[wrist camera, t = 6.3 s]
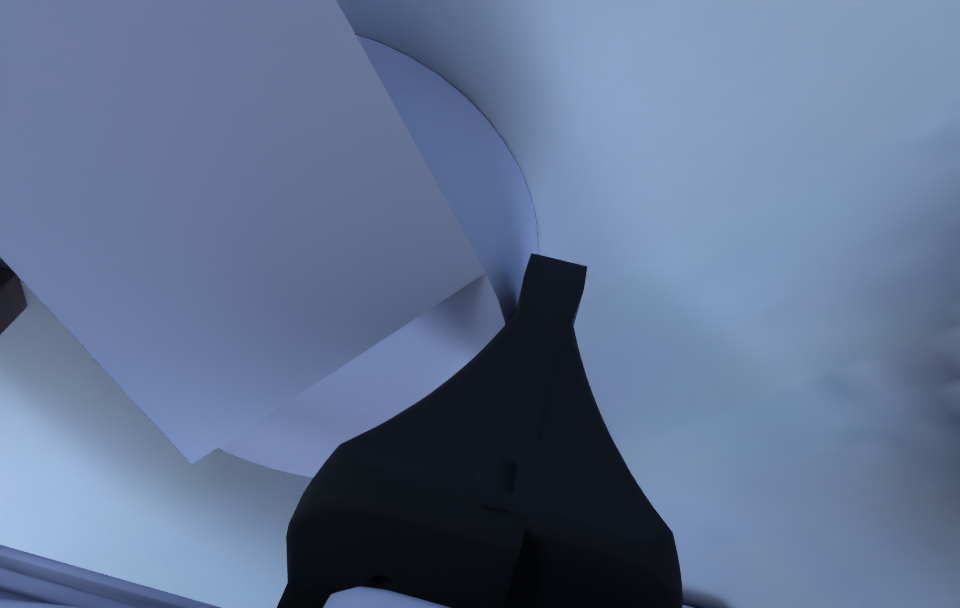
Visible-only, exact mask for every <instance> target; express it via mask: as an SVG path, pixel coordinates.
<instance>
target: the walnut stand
mask: <svg viewBox="0 0 960 608" xmlns="http://www.w3.org/2000/svg"><path fill="white" fill-rule="evenodd" d="M26 307H27V304H26V300H25V297H24V294H23V291H22V288H21V284H20V281H19V278H18V276H17V274H16V273H15V272H11V271H7V270H3V269H0V335H1V333H2V332H3V331H4V330H5V329H6V328H7V327H8V326H9V325H10V324H11V323H12V322H13V321H14V320H15V319H16V318H17V317H18V316H19V315H20V314H21V313H22V312H23V311H24V310H25V308H26Z"/></svg>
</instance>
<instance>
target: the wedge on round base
mask: <svg viewBox="0 0 960 608" xmlns="http://www.w3.org/2000/svg"><path fill="white" fill-rule="evenodd" d="M531 253H533V254H537V253H538V236H537V222H536V217H535V213H534V209H533V204H532V200H531V196H530V193H529V191H528V188H527V186H526V183H525V180H524V178H523V175H522V173H521V170H520V168H519V167H518V165H517V163H516V161H515V160H514V158H513V156H512V154H511V152H510V151H509V149H508V147H507V145H506V144H505V142H504V141H503V140H502V138H501V137H500V136H499V134H498V133H497V132H496V130H495V129H494V128H493V126H492V125H491V124H490V122H489V121H488V120H487V119H486V118H485V116H484V115H483V114H482V113H481V112H480V111H479V110H478V109H477V108H476V107H475V106H474V105H473V104H472V103H471V102H470V101H469V100H468V99H467V98H466V97H465V96H464V95H463V94H462V93H460V92H459V91H458V90H457V89H455V88H454V87H453V86H452V85H450V84H449V83H448V82H447V81H445V80H444V79H443V78H442V77H440V76H439V75H438V74H436V73H435V72H433V71H432V70H430V69H428V68H427V67H425V66H424V65H422V64H420V63H419V62H417V61H416V60H414V59H412V58H411V57H409V56H407V55H405V54H403V53H401V52H398V51H396V50H394V49H392V48H390V47H388V46H386V45H383V44H381V43H379V42H376V41H373V40H370V39H367V38H364V37H361V36H358V35H356V34H355V33H354V31H353V29H352V27H351V25H350V23H349V22H348V20H347V18H346V16H345V14H344V12H343V11H342V9H341V7H340V5H339V3H338V2H337V0H0V257H1V258H2V259H3V260H4V261H5V263H6V264H7V265H8V266H9V267H10V268H11V269H12V270H13V271H14V272H15V273H16V274H17V276H18V277H19V278H20V279H21V280H22V281H23V282H24V283H25V284H26V285H27V286H28V287H29V289H30V290H31V291H32V292H33V293H34V294H35V295H36V296H37V297H38V298H39V299H40V300H41V302H42V303H43V304H44V305H45V306H46V307H47V308H48V309H49V310H50V311H51V312H52V313H53V315H54V316H55V317H56V318H57V319H58V320H59V321H60V322H61V323H62V324H63V325H64V326H65V328H66V329H67V330H68V331H69V332H70V333H71V334H72V335H73V336H74V337H75V338H76V339H77V341H78V342H79V343H80V344H81V345H82V346H83V347H84V348H85V349H86V350H87V351H88V352H89V354H90V355H91V356H92V357H93V358H94V359H95V360H96V361H97V362H98V363H99V364H100V365H101V366H102V368H103V369H104V370H105V371H106V372H107V373H108V374H109V375H110V376H111V377H112V378H113V379H114V381H115V382H116V383H117V384H118V385H119V386H120V387H121V388H122V389H123V390H124V391H125V392H126V394H127V395H128V396H129V397H130V398H131V399H132V400H133V401H134V402H135V403H136V404H137V405H138V407H139V408H140V409H141V410H142V411H143V412H144V413H145V414H146V415H147V416H148V417H149V418H150V420H151V421H152V422H153V423H154V424H155V425H156V426H157V427H158V428H159V429H160V430H161V431H162V433H163V434H164V435H165V436H166V437H167V438H168V439H169V440H170V441H171V442H172V443H173V444H174V446H175V447H176V448H177V449H178V450H179V451H180V452H181V453H182V454H183V455H184V456H185V457H186V459H187V460H188V461H189V462H190V463H191V464H194V463H195V462H197V461H198V460H200V459H201V458H203V457H204V456H206V455H207V454H209V453H210V452H212V451H213V450H215V449H217V448H218V449H220V450H222V451H224V452H227V453H229V454H232V455H234V456H237V457H239V458H241V459H244V460H246V461H249V462H252V463H255V464H258V465H261V466H264V467H267V468H270V469H274V470H278V471H282V472H286V473H290V474H294V475H298V476H304V477H311V478H314V476H315V475H316V473H317V472H318V471H319V469H320V468H321V467H322V465H323V464H324V463H325V461H326V460H327V459H328V458H329V457H330V455H331V454H332V453H333V452H334V451H335V449H336V448H337V447H338V446H339V445H340V444H341V443H343V442H346V441H348V440H350V439H352V438H354V437H356V436H358V435H360V434H362V433H364V432H366V431H368V430H370V429H372V428H374V427H376V426H378V425H380V424H382V423H384V422H386V421H387V420H389V419H391V418H392V417H394V416H396V415H397V414H399V413H400V412H402V411H404V410H405V409H407V408H409V407H410V406H412V405H413V404H415V403H417V402H418V401H420V400H421V399H423V398H424V397H425V396H427V395H428V394H430V393H431V392H433V391H434V390H435V389H436V388H438V387H439V386H440V385H442V384H443V383H444V382H446V381H447V380H448V379H449V378H451V377H452V376H453V375H454V374H456V373H457V372H458V371H459V370H460V369H461V368H463V367H464V366H465V365H466V364H467V363H468V362H469V361H471V360H472V359H473V358H474V357H475V356H476V355H477V354H478V353H479V352H480V351H481V350H482V349H483V348H484V347H485V346H486V345H487V344H488V343H489V342H490V341H491V340H492V339H493V338H494V337H495V335H496V334H497V333H498V332H499V331H500V330H501V329H502V328H503V327H504V326H505V325H506V324H507V322H508V321H509V320H510V319H511V317H512V316H513V315H514V314H515V312H516V309H517V305H518V300H519V295H520V291H521V286H522V282H523V277H524V274H525V270H526V267H527V264H528V261H529V258H530V255H531Z"/></svg>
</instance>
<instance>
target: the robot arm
mask: <svg viewBox="0 0 960 608" xmlns="http://www.w3.org/2000/svg"><path fill="white" fill-rule="evenodd" d="M586 271H587V266H583V265H578V264H574V263H570V262H566V261H562V260H558V259H554V258H550V257H546V256H541V255H537V254H533V253H531V255H530V258H529V261H528V264H527V267H526V270H525V274H524V277H523V282H522V286H521V291H520V295H519V300H518V305H517V309H516V312H515V314H514V315H513V316H512V317H511V319H510V320H509V321H508V322H507V324H506V325H505V326H504V327H503V328H502V329H501V330H500V331H499V332H498V333H497V334H496V335H495V337H494V338H493V339H492V340H491V341H490V342H489V343H488V344H487V345H486V346H485V347H484V348H483V349H482V350H481V351H480V352H479V353H478V354H477V355H476V356H475V357H474V358H473V359H472V360H471V361H469V362H468V363H467V364H466V365H465V366H464V367H463V368H461V369H460V370H459V371H458V372H457V373H456V374H454V375H453V376H452V377H451V378H449V379H448V380H447V381H446V382H444V383H443V384H442V385H440V386H439V387H438V388H436V389H435V390H434V391H433V392H431V393H430V394H428V395H427V396H425V397H424V398H423V399H421V400H420V401H418V402H417V403H415V404H413V405H412V406H410V407H409V408H407V409H405V410H404V411H402V412H400V413H399V414H397V415H396V416H394V417H392V418H391V419H389V420H387V421H386V422H384V423H382V424H380V425H378V426H376V427H374V428H372V429H370V430H368V431H366V432H364V433H362V434H360V435H358V436H356V437H354V438H352V439H350V440H348V441H346V442H343V443H341V444H340V445H339V446H338V447H337V448H336V449H335V451H334V452H333V453H332V454H331V455H330V457H329V458H328V459H327V460H326V461H325V463H324V464H323V465H322V467H321V468H320V469H319V471H318V472H317V473H316V475H315V476H314V478H313V479H312V481H311V482H310V484H309V485H308V487H307V489H306V490H305V492H304V493H303V495H302V497H301V499H300V501H299V504H298V506H297V508H296V510H295V512H294V514H293V516H292V518H291V521H290V523H289V526H288V531H287V536H286V541H287V572H288V584H287V586H286V588H285V590H284V593H283V595H282V597H281V599H280V602H279V604H278V606H277V608H694V607H690V606H687V605H683V594H682V582H681V573H680V566H679V560H678V555H677V550H676V545H675V541H674V537H673V533H672V531H671V530H670V529H669V527H668V526H667V525H666V523H665V522H664V521H663V519H662V518H661V517H660V515H659V514H658V513H657V512H656V510H655V509H654V508H653V506H652V505H651V503H650V502H649V500H648V499H647V498H646V496H645V495H644V493H643V491H642V490H641V488H640V487H639V485H638V484H637V482H636V481H635V479H634V477H633V476H632V474H631V473H630V471H629V469H628V467H627V465H626V463H625V462H624V460H623V458H622V456H621V454H620V453H619V451H618V449H617V447H616V445H615V443H614V442H613V440H612V438H611V436H610V434H609V432H608V429H607V427H606V425H605V423H604V421H603V418H602V416H601V414H600V411H599V409H598V407H597V404H596V402H595V399H594V397H593V394H592V391H591V388H590V386H589V383H588V380H587V377H586V373H585V370H584V367H583V363H582V360H581V357H580V353H579V349H578V345H577V340H576V336H575V331H574V327H573V325H574V322H575V318H576V315H577V311H578V308H579V304H580V301H581V297H582V294H583V290H584V284H585V278H586ZM0 608H220V607H217V606H213V605H210V604H206V603H203V602H199V601H196V600H192V599H189V598H185V597H182V596H178V595H175V594H171V593H168V592H164V591H160V590H157V589H153V588H150V587H146V586H143V585H139V584H136V583H132V582H129V581H125V580H122V579H118V578H115V577H111V576H108V575H104V574H101V573H97V572H94V571H90V570H87V569H83V568H80V567H76V566H73V565H69V564H66V563H62V562H59V561H55V560H52V559H48V558H45V557H41V556H38V555H34V554H30V553H27V552H23V551H20V550H16V549H13V548H9V547H6V546H2V545H0Z"/></svg>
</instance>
